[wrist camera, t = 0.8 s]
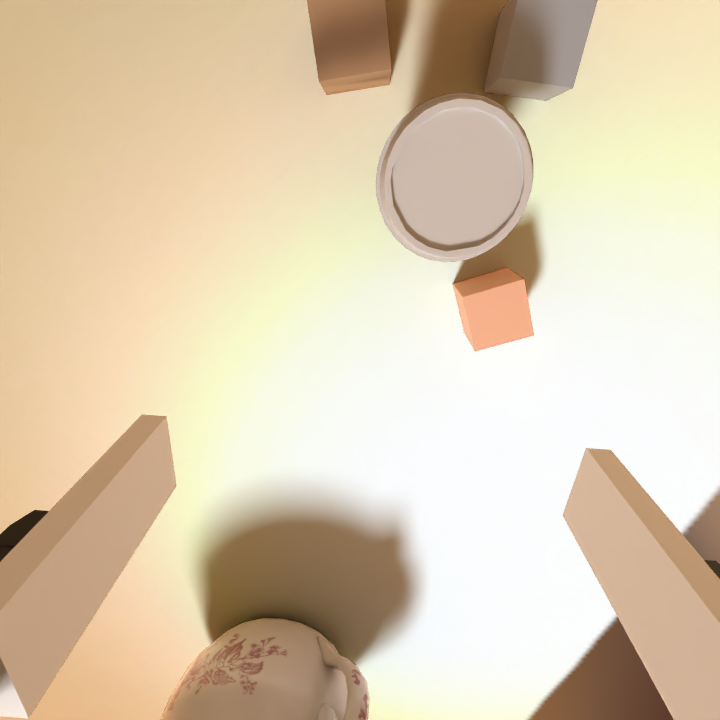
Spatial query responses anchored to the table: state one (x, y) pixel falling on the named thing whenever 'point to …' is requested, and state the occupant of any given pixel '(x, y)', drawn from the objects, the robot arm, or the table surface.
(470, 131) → the disposable coffee cup
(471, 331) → the terracotta cube
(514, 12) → the slate grey cube
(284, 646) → the chamber pot
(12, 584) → the robot arm
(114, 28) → the table surface
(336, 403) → the table surface
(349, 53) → the walnut cube
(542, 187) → the table surface
